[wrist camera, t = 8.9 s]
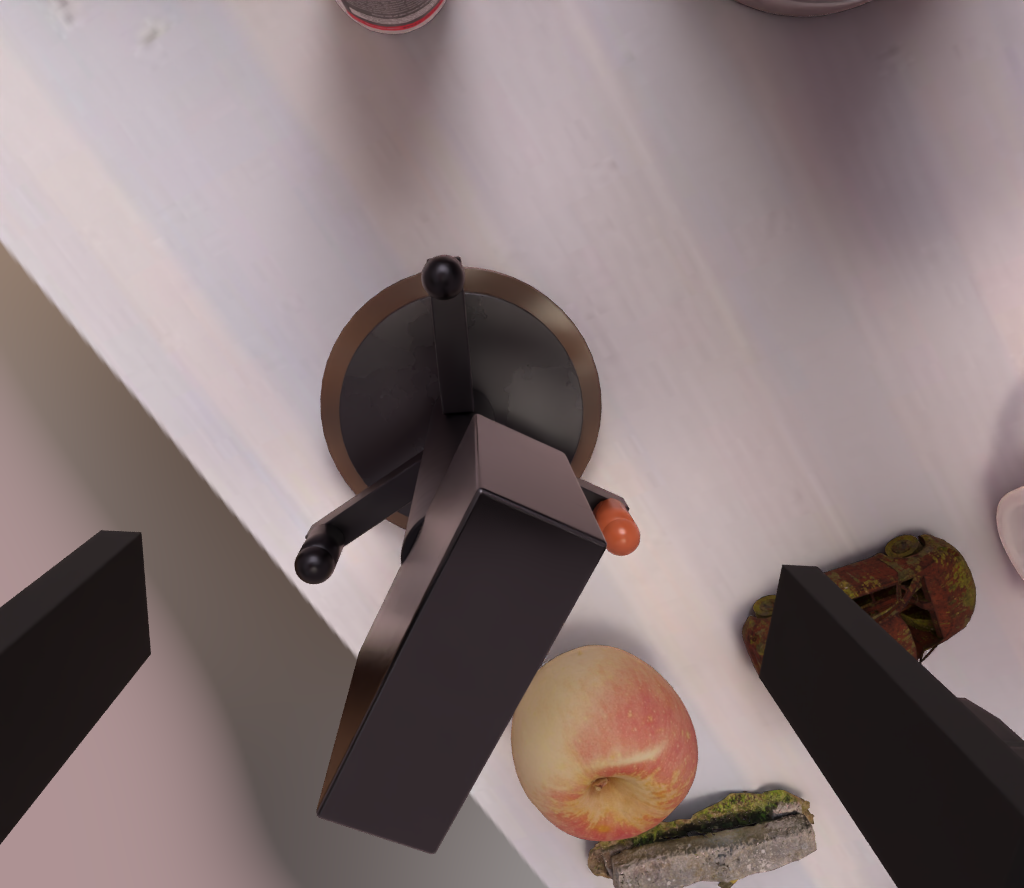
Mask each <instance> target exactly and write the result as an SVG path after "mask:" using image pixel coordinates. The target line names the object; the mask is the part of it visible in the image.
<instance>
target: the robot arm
mask: <svg viewBox="0 0 1024 888" xmlns="http://www.w3.org/2000/svg"><path fill="white" fill-rule="evenodd" d="M735 1H737V2H739V3H741V4H744V5H746V6H749V7H752V8H754V9H757V10H760V11H764V12H768V13H772V14H778V15H785V16H802V17H809V16H820V15H827V14H832V13H837V12H842V11H845V10H848V9H851V8H854V7H857V6H860V5H862V4H865V3H867V2H869V1H871V0H735ZM150 654H151V651H150V637H149V624H148V611H147V598H146V586H145V573H144V560H143V547H142V535H141V532H122V531H103V530H101V531H100V532H98V533H97V534H96V535H94V536H93V537H92V538H90V539H89V540H88V541H87V542H85V543H84V544H83V545H81V546H80V547H79V548H77V549H76V550H75V551H74V552H72V553H71V554H70V555H68V556H67V557H66V558H64V559H63V560H62V561H61V562H59V563H58V564H57V565H55V566H54V567H53V568H51V569H50V570H49V571H47V572H46V573H45V574H43V575H42V576H41V577H40V578H38V579H37V580H36V581H34V582H33V583H32V584H30V585H29V586H28V587H26V588H25V589H24V590H23V591H21V592H20V593H19V594H17V595H16V596H15V597H13V598H12V599H11V600H9V601H8V602H7V603H6V604H4V605H3V606H2V607H0V844H1V843H2V842H3V840H4V839H5V838H6V837H7V835H8V834H9V833H10V832H11V830H12V829H13V827H14V826H15V825H16V824H17V823H18V821H19V820H20V819H21V818H22V816H23V815H24V814H25V813H26V811H27V810H28V808H29V807H30V806H31V805H32V804H33V802H34V801H35V800H36V799H37V797H38V796H39V795H40V794H41V792H42V791H43V790H44V789H45V787H46V786H47V785H48V783H49V782H50V781H51V780H52V778H53V777H54V776H55V775H56V773H57V772H58V771H59V769H60V768H61V767H62V766H63V764H64V763H65V762H66V760H67V759H68V758H69V757H70V755H71V754H72V753H73V752H74V751H75V749H76V748H77V747H78V745H79V744H80V743H81V742H82V740H83V739H84V738H85V737H86V735H87V734H88V733H89V731H90V730H91V729H92V728H93V726H94V725H95V724H96V723H97V721H98V720H99V719H100V718H101V716H102V715H103V714H104V713H105V711H106V710H107V709H108V707H109V706H110V705H111V704H112V702H113V701H114V700H115V699H116V697H117V696H118V695H119V694H120V692H121V691H122V690H123V689H124V687H125V686H126V685H127V683H128V682H129V681H130V680H131V678H132V677H133V676H134V675H135V673H136V672H137V671H138V670H139V668H140V667H141V666H142V664H143V663H144V662H145V661H146V659H147V658H148V657H149V656H150ZM759 678H760V679H761V681H762V682H763V684H764V685H765V687H766V688H767V690H768V692H769V693H770V695H771V696H772V698H773V699H774V701H775V702H776V704H777V705H778V707H779V708H780V710H781V711H782V713H783V714H784V716H785V717H786V719H787V720H788V722H789V723H790V725H791V726H792V728H793V729H794V731H795V733H796V734H797V736H798V737H799V739H800V740H801V742H802V743H803V745H804V746H805V748H806V749H807V751H808V752H809V754H810V755H811V757H812V758H813V760H814V761H815V763H816V764H817V766H818V767H819V769H820V770H821V772H822V773H823V775H824V777H825V778H826V780H827V781H828V783H829V784H830V786H831V787H832V789H833V790H834V792H835V793H836V795H837V796H838V798H839V799H840V801H841V802H842V804H843V805H844V807H845V808H846V810H847V811H848V813H849V814H850V816H851V818H852V819H853V821H854V822H855V824H856V825H857V827H858V828H859V830H860V831H861V833H862V834H863V836H864V837H865V839H866V840H867V842H868V843H869V845H870V846H871V848H872V849H873V851H874V852H875V854H876V855H877V857H878V858H879V860H880V862H881V863H882V865H883V866H884V868H885V869H886V871H887V872H888V874H889V875H890V877H891V878H892V880H893V881H894V883H895V884H896V886H897V887H898V888H1024V741H1023V740H1022V739H1021V738H1020V737H1019V736H1018V735H1017V734H1016V733H1015V732H1013V731H1012V730H1011V729H1010V728H1009V727H1008V726H1007V725H1006V724H1005V723H1003V722H1002V721H1001V720H1000V719H999V718H997V717H996V716H994V715H992V714H991V713H989V712H987V711H986V710H984V709H983V708H981V707H979V706H978V705H976V704H974V703H973V702H971V701H969V700H968V699H966V698H957V697H956V696H955V695H954V694H952V693H951V692H950V691H949V690H948V689H947V688H946V687H945V686H944V685H943V684H942V683H941V682H940V681H939V680H938V679H936V678H935V677H934V676H933V675H932V674H931V673H930V672H929V671H928V670H927V669H926V668H925V667H924V666H923V665H922V664H920V663H919V662H918V661H917V660H916V659H915V658H914V657H913V656H912V655H911V654H910V653H909V652H908V651H907V650H906V649H905V648H903V647H902V646H901V645H900V644H899V643H898V642H897V641H896V640H895V639H894V638H893V637H892V636H891V635H890V634H889V633H887V632H886V631H885V630H884V629H883V628H882V627H881V626H880V625H879V624H878V623H877V622H876V621H875V620H874V619H873V618H871V617H870V616H869V615H868V614H867V613H866V612H865V611H864V610H863V609H862V608H861V607H860V606H859V605H858V604H857V603H855V602H854V601H853V600H852V599H851V598H850V597H849V596H848V595H847V594H846V593H845V592H844V591H843V590H842V589H841V588H839V587H838V586H837V585H836V584H835V583H834V582H833V581H832V580H831V579H830V578H829V577H828V576H827V575H826V574H825V573H824V572H822V571H821V570H820V569H819V568H818V567H816V566H796V565H782V569H781V574H780V579H779V584H778V588H777V593H776V598H775V602H774V607H773V612H772V617H771V621H770V626H769V631H768V636H767V640H766V645H765V650H764V655H763V659H762V664H761V669H760V674H759Z"/></svg>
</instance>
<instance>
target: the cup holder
mask: <svg viewBox="0 0 1024 888" xmlns="http://www.w3.org/2000/svg"><path fill="white" fill-rule="evenodd" d="M421 280H422V285H423V287H424V289H425V291H426V292H427V293H428V294H429V295H430V296H426V297H423V298H419V299H417V300H415V301H412V302H410V303H408V304H405V305H404V306H402V307H400V308H399V309H397V310H395V311H394V312H392V313H390V314H389V315H388V316H387V317H386V318H384V319H383V320H382V321H381V322H379V323H378V324H377V325H376V326H375V327H374V328H373V329H372V330H371V331H370V332H369V333H368V334H367V336H366V337H365V338H364V339H363V341H362V342H361V344H360V345H359V346H358V348H357V349H356V351H355V353H354V355H353V357H352V359H351V361H350V363H349V364H348V367H347V370H346V373H345V376H344V379H343V383H342V388H341V393H340V403H339V418H340V428H341V433H342V438H343V442H344V445H345V448H346V450H347V453H348V456H349V458H350V460H351V462H352V464H353V466H354V468H355V470H356V471H357V473H358V474H359V476H360V477H361V479H362V480H363V481H364V483H365V484H366V485H367V486H368V488H367V489H365V490H364V491H362V492H361V493H359V494H358V495H356V496H355V497H353V498H352V499H350V500H349V501H347V502H346V503H344V504H343V505H341V506H340V507H338V508H337V509H335V510H334V511H333V512H331V513H330V514H328V515H327V516H325V517H324V518H322V519H321V520H319V521H318V522H316V523H315V524H313V525H312V526H311V528H310V530H309V531H308V533H307V535H306V537H305V538H306V540H305V542H304V544H303V546H302V548H301V549H300V551H299V553H298V555H297V557H296V560H295V571H296V574H297V575H298V577H299V578H300V579H301V580H302V581H304V582H306V583H309V584H319V583H322V582H324V581H326V580H327V579H328V578H329V577H330V576H331V575H332V573H333V571H334V569H335V567H336V564H337V562H338V559H339V557H340V555H341V552H342V550H343V547H344V546H346V545H347V544H349V543H350V542H352V541H353V540H355V539H356V538H358V537H359V536H361V535H362V534H364V533H365V532H367V531H368V530H370V529H371V528H373V527H374V526H376V525H377V524H379V523H380V522H382V521H383V520H385V519H386V518H388V517H389V516H391V515H392V514H394V513H395V512H399V513H401V514H403V515H405V516H407V517H409V518H408V523H407V527H406V532H405V537H404V541H403V546H402V550H401V567H400V569H399V571H398V573H397V575H396V577H395V579H394V581H393V583H392V585H391V587H390V589H389V591H388V594H387V596H386V598H385V600H384V602H383V604H382V606H381V608H380V610H379V612H378V614H377V616H376V618H375V621H374V623H373V625H372V627H371V629H370V631H369V633H368V635H367V637H366V639H365V641H364V643H363V645H362V647H361V650H360V652H359V654H358V658H357V662H356V666H355V669H354V673H353V677H352V680H351V684H350V688H349V692H348V695H347V699H346V703H345V707H344V710H343V714H342V718H341V721H340V725H339V729H338V733H337V736H336V740H335V744H334V748H333V752H332V755H331V759H330V762H329V766H328V770H327V773H326V777H325V781H324V785H323V788H322V793H321V796H320V800H319V803H318V807H317V816H318V817H319V818H321V819H325V820H328V821H331V822H334V823H337V824H340V825H343V826H346V827H349V828H353V829H355V830H358V831H361V832H365V833H368V834H371V835H374V836H377V837H380V838H383V839H386V840H389V841H392V842H396V843H398V844H402V845H405V846H408V847H411V848H414V849H417V850H420V851H423V852H426V853H429V854H434V853H436V851H437V850H438V848H439V846H440V844H441V842H442V841H443V839H444V837H445V835H446V833H447V832H448V830H449V828H450V826H451V825H452V823H453V821H454V819H455V817H456V816H457V814H458V812H459V810H460V808H461V806H462V805H463V803H464V801H465V800H466V798H467V796H468V794H469V792H470V791H471V789H472V787H473V785H474V783H475V782H476V780H477V778H478V776H479V775H480V773H481V771H482V769H483V767H484V766H485V764H486V762H487V760H488V758H489V757H490V755H491V753H492V751H493V750H494V748H495V746H496V744H497V742H498V741H499V739H500V737H501V735H502V733H503V732H504V730H505V728H506V726H507V725H508V723H509V721H510V719H511V717H512V716H513V714H514V712H515V710H516V708H517V707H518V705H519V703H520V701H521V700H522V698H523V696H524V694H525V692H526V691H527V689H528V687H529V685H530V683H531V682H532V680H533V678H534V676H535V675H536V673H537V671H538V669H539V667H540V666H541V664H542V662H543V660H544V658H545V657H546V655H547V653H548V651H549V650H550V648H551V646H552V644H553V642H554V641H555V639H556V637H557V635H558V633H559V632H560V630H561V628H562V626H563V625H564V623H565V621H566V619H567V617H568V616H569V614H570V612H571V610H572V608H573V607H574V605H575V603H576V601H577V600H578V598H579V596H580V594H581V592H582V591H583V589H584V587H585V585H586V583H587V582H588V580H589V578H590V576H591V575H592V573H593V571H594V569H595V567H596V566H597V564H598V562H599V560H600V558H601V557H602V555H603V553H604V551H605V550H606V549H607V550H608V551H609V552H610V553H612V554H614V555H618V556H624V555H628V554H630V553H632V552H633V551H634V550H635V549H636V548H637V547H638V545H639V542H640V532H639V529H638V527H637V525H636V524H635V522H634V520H633V519H632V517H631V515H630V514H629V512H628V511H629V507H628V505H627V504H626V502H625V501H624V499H623V498H622V497H620V496H617V495H615V494H613V493H611V492H609V491H606V490H604V489H602V488H600V487H598V486H595V485H593V484H591V483H589V482H586V481H584V480H582V479H580V478H578V477H576V476H575V474H574V472H573V470H572V468H571V466H570V465H571V462H572V460H573V458H574V456H575V453H576V451H577V448H578V444H579V441H580V438H581V432H582V426H583V398H582V390H581V386H580V382H579V378H578V375H577V372H576V370H575V367H574V365H573V362H572V360H571V358H570V357H569V355H568V353H567V351H566V350H565V348H564V346H563V345H562V344H561V342H560V341H559V340H558V338H557V337H556V336H555V335H554V334H553V333H552V332H551V331H550V330H549V328H548V327H547V326H546V325H545V324H544V323H543V322H541V321H540V320H539V319H538V318H536V317H535V316H534V315H532V314H531V313H530V312H528V311H527V310H525V309H523V308H521V307H520V306H518V305H516V304H514V303H512V302H509V301H507V300H505V299H502V298H500V297H496V296H492V295H488V294H484V293H477V292H469V291H464V283H465V271H464V268H463V266H462V261H461V257H459V256H457V257H452V256H449V255H440V256H436V257H434V258H430V259H428V260H427V263H426V264H425V266H424V268H423V270H422V275H421Z"/></svg>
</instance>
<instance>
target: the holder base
mask: <svg viewBox="0 0 1024 888" xmlns="http://www.w3.org/2000/svg"><path fill="white" fill-rule="evenodd" d="M463 268H464V271H465V283H464V291H469V292H477V293H484V294H488V295H492V296H496V297H500V298H502V299H505V300H507V301H509V302H512V303H514V304H516V305H518V306H520V307H521V308H523V309H525V310H527V311H528V312H530V313H531V314H532V315H534V316H535V317H536V318H538V319H539V320H540V321H541V322H543V323H544V324H545V325H546V326H547V327H548V328H549V330H550V331H551V332H552V333H553V334H554V335H555V336H556V337H557V338H558V340H559V341H560V342H561V344H562V345H563V346H564V348H565V350H566V351H567V353H568V355H569V357H570V358H571V360H572V362H573V365H574V367H575V370H576V372H577V375H578V378H579V382H580V386H581V390H582V398H583V426H582V432H581V438H580V441H579V444H578V448H577V451H576V453H575V456H574V458H573V460H572V462H571V465H570V466H571V468H572V470H573V472H574V474H575V476H576V477H578V478H580V477H581V475H582V474H583V472H584V470H585V468H586V466H587V464H588V462H589V460H590V458H591V455H592V453H593V450H594V447H595V444H596V441H597V437H598V432H599V428H600V419H601V389H600V384H599V378H598V373H597V369H596V366H595V363H594V360H593V357H592V354H591V352H590V350H589V348H588V346H587V344H586V342H585V340H584V338H583V337H582V335H581V334H580V332H579V330H578V329H577V327H576V326H575V324H574V323H573V322H572V321H571V320H570V318H569V317H568V316H567V315H566V314H565V313H564V312H563V310H562V309H561V308H559V307H558V306H557V305H556V304H555V303H554V302H553V301H551V300H550V299H549V298H548V297H547V296H545V295H544V294H542V293H541V292H539V291H538V290H536V289H535V288H533V287H532V286H530V285H528V284H526V283H524V282H522V281H520V280H518V279H516V278H514V277H511V276H508V275H505V274H502V273H499V272H496V271H492V270H486V269H481V268H473V267H463ZM421 275H422V272H421V273H418V274H416V275H413V276H410V277H408V278H405V279H403V280H400V281H399V282H397V283H395V284H393V285H391V286H389V287H387V288H386V289H384V290H382V291H381V292H380V293H378V294H377V295H376V296H374V297H373V298H372V299H370V300H369V301H368V302H367V303H366V304H365V305H364V306H363V307H361V308H360V309H359V310H358V311H357V312H356V313H355V314H354V316H353V317H352V318H351V320H350V321H349V322H348V323H347V325H346V326H345V327H344V328H343V330H342V332H341V334H340V335H339V337H338V339H337V340H336V342H335V344H334V346H333V348H332V351H331V353H330V356H329V358H328V361H327V364H326V368H325V372H324V376H323V380H322V389H321V398H320V400H321V420H322V426H323V432H324V436H325V439H326V443H327V446H328V449H329V452H330V454H331V456H332V458H333V461H334V463H335V465H336V467H337V469H338V470H339V472H340V474H341V475H342V477H343V478H344V480H345V482H346V483H347V484H348V485H349V487H350V488H351V489H352V490H353V492H354V493H355V494H356V495H358V494H359V493H361V492H362V491H364V490H365V489H367V488H368V486H367V485H366V484H365V483H364V481H363V480H362V479H361V477H360V476H359V474H358V473H357V471H356V470H355V468H354V466H353V464H352V462H351V460H350V458H349V456H348V453H347V450H346V448H345V445H344V442H343V438H342V433H341V428H340V418H339V403H340V393H341V388H342V383H343V379H344V376H345V373H346V370H347V367H348V364H349V363H350V361H351V359H352V357H353V355H354V353H355V351H356V349H357V348H358V346H359V345H360V344H361V342H362V341H363V339H364V338H365V337H366V336H367V334H368V333H369V332H370V331H371V330H372V329H373V328H374V327H375V326H376V325H377V324H378V323H379V322H381V321H382V320H383V319H384V318H386V317H387V316H388V315H389V314H390V313H392V312H394V311H395V310H397V309H399V308H400V307H402V306H404V305H405V304H408V303H410V302H412V301H415V300H417V299H419V298H423V297H426V296H430V295H429V294H428V293H427V292H426V291H425V289H424V287H423V285H422V280H421ZM408 518H409V517H407V516H405V515H403V514H401V513H399V512H395V513H394V514H392V515H391V516H389V517H388V518H386V520H388V521H390V522H391V523H393V524H395V525H397V526H399V527H401V528H403V529H406V527H407V523H408Z"/></svg>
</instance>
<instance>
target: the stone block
mask: <svg viewBox="0 0 1024 888" xmlns="http://www.w3.org/2000/svg"><path fill="white" fill-rule="evenodd" d="M743 792H744V791H743ZM775 802H778V803H775ZM784 802H785V803H784ZM787 805H789V806H787ZM760 807H762V808H760ZM808 808H810V802H808V801H804V799H801V798H799V797H797V796H795V795H793V794H791V793H789V792H787V791H785V790H773V791H767V792H764V793H763V794H754V793H746V792H744V793H730V794H729V795H728V796H727V797H726V798H725V799H724V800H722V801H720V802H718V803H716V804H714V805H712V806H710V807H708V808H705V809H703V810H701V811H699V812H697V813H695V814H693V816H692V818H691V819H677V820H675V821H672V822H664V821H661V822H660V823H659V824H657V825H656V826H655V827H653V828H651V829H649V830H648V831H646V832H644V833H642V834H639V835H637V836H634V837H631V838H627V839H621V840H613V841H600V842H598V844H595V847H594V848H593V849H591V850H590V852H589V858H588V867H589V869H590V870H591V871H592V873H593V874H594V875H596V876H603V877H606V878H611V879H613V885H614V886H615V888H682V887H684V886H688V885H691V884H693V883H696V882H698V881H717V882H729V881H731V880H740V879H742V878H744V877H746V876H748V875H751V874H755V873H761V872H767V871H771V870H775V869H777V868H780V867H782V866H784V865H786V864H789V863H791V862H794V861H798V860H800V859H802V858H804V857H805V856H807V855H809V854H811V853H812V852H814V851H816V850H817V849H816V841H815V833H814V830H813V827H812V825H811V824H814V821H813V817H814V815H813V814H811V813H810V812H809V811H808ZM766 809H767V812H766ZM735 810H736V811H735ZM780 811H781V813H779V812H780ZM720 812H721V813H720ZM728 812H729V813H728ZM731 812H732V813H731ZM743 812H744V813H743ZM746 812H747V813H746ZM751 812H752V813H751ZM773 812H775V813H773ZM713 813H714V814H713ZM730 813H731V815H729V816H728V814H730ZM776 813H777V814H776ZM715 814H716V815H715ZM722 815H723V816H722ZM732 815H733V816H732ZM746 815H747V816H746ZM790 815H791V816H790ZM794 815H795V816H794ZM785 816H786V817H785ZM711 817H712V818H711ZM715 817H716V820H715ZM726 817H728V818H726ZM735 817H736V818H735ZM750 817H751V818H750ZM783 817H784V818H783ZM721 818H724V819H721ZM729 818H730V819H729ZM743 818H746V820H743ZM749 818H750V822H749ZM704 819H705V820H704ZM721 820H722V821H721ZM706 821H709V822H708V823H707V822H706ZM756 822H759V823H757V824H756V825H755V826H745V827H742V828H737V829H732V830H728V829H727V830H723V831H720V832H714V833H713V834H715V835H714V836H713V835H712V833H710V832H712V828H713V829H717V828H730V827H735V826H744V825H749V824H753V823H756ZM706 823H707V824H706ZM768 823H769V825H767V824H768ZM676 825H677V826H676ZM766 825H767V826H766ZM765 826H766V827H765ZM708 827H710V828H708ZM677 829H678V831H677ZM780 829H781V830H780ZM690 831H696V832H699V833H707V834H706V835H704V836H706V837H708V838H706V837H704V836H703V835H699V836H698V835H696V836H690V837H689V836H688V835H687V832H690ZM668 832H669V833H668ZM690 833H691V832H690ZM691 834H692V833H691ZM668 836H669V837H675V836H684V837H681V838H678V839H674V840H673V839H670V840H665V839H663V838H661V837H664V838H668ZM647 840H648V841H647ZM757 843H759V844H757ZM637 844H639V845H637ZM636 845H637V846H636ZM633 847H634V848H633ZM602 848H603V849H602ZM627 848H631V849H627ZM608 850H609V851H608ZM645 850H646V851H645ZM712 851H713V852H712ZM714 851H715V852H714ZM618 852H621V853H618ZM702 853H703V854H704V855H703V854H702ZM601 854H602V855H601ZM614 854H616V855H614ZM612 855H613V856H612ZM697 856H698V858H696V857H697ZM597 857H598V858H597ZM605 860H606V861H607V862H606V861H605ZM605 865H606V866H605ZM622 872H623V874H621V873H622Z"/></svg>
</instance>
